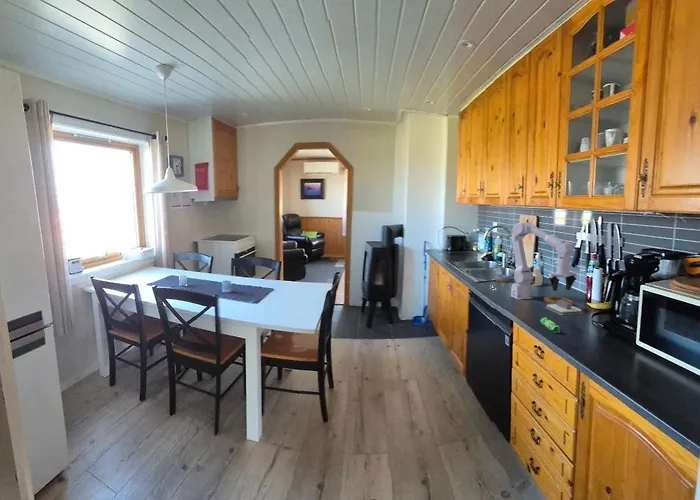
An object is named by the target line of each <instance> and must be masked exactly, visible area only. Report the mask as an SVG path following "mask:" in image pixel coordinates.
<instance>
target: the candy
mask: <svg viewBox="0 0 700 500" xmlns="http://www.w3.org/2000/svg"><path fill="white" fill-rule="evenodd" d="M539 322H540V324H541V325H544V326H545V327H546V328H547V329H549V330H550V331H552V332H553V333H554V334H555V333H556V334H560V333H561V332H562V331H563V329H562V327H561V326H559V325H557V324H556V323H555V322H553V321H552V320H550V319H548V317H547V316H543V317H541V318H540V319H539Z"/></svg>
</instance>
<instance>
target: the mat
mask: <svg viewBox="0 0 700 500" xmlns="http://www.w3.org/2000/svg"><path fill="white" fill-rule="evenodd" d="M545 309H546V310H549V311H551V312H554V313H556V314H558V315H560V316H572V315H584V312H582V311H576V312H567V313H562V312H559V311H557V310H555V309H553V308H551V307H548V306H545Z"/></svg>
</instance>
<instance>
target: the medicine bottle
mask: <svg viewBox="0 0 700 500" xmlns="http://www.w3.org/2000/svg"><path fill="white" fill-rule="evenodd" d="M529 268H530V270H531V272H532V274H533V279H532V280H531V282H530V286H531V287H538V286H543V279H544V278H543V274H540V273H541V268H540V267H539V266H530V267H529Z"/></svg>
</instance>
